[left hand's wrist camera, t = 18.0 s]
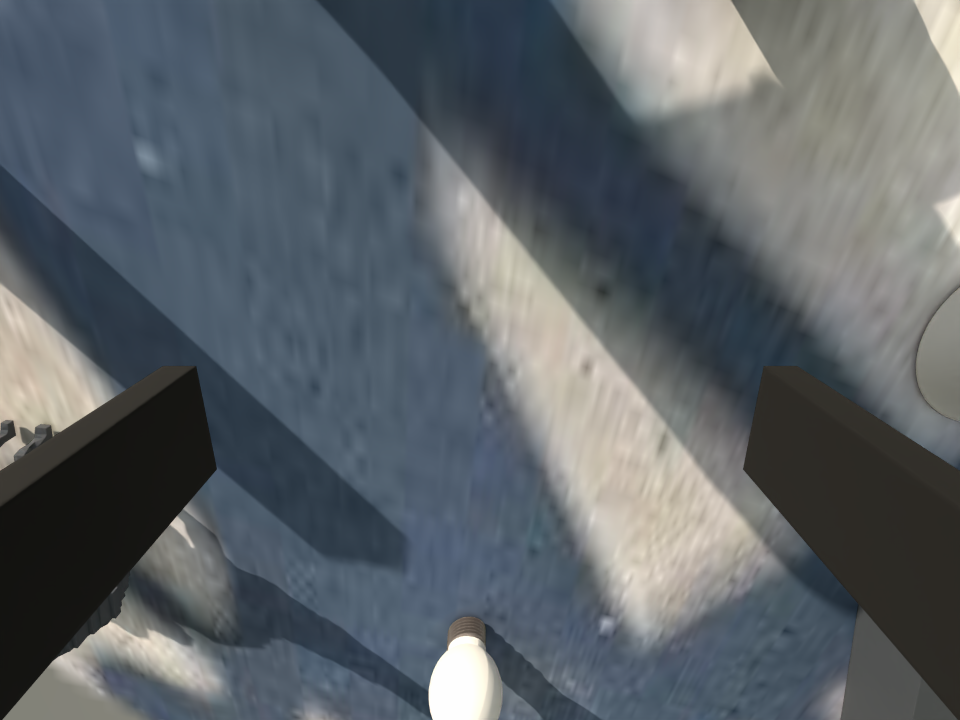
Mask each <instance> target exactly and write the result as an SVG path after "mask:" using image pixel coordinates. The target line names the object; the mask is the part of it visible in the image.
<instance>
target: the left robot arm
mask: <svg viewBox="0 0 960 720" xmlns="http://www.w3.org/2000/svg"><path fill="white" fill-rule="evenodd" d="M216 470H217V468H216V463H215V458H214V453H213V448H212V443H211V438H210V433H209V428H208V423H207V418H206V413H205V408H204V403H203V398H202V393H201V388H200V383H199V378H198V373H197V368H196V366H162V367H161V368H159V369H158V370H156V371H155V372H153V373H152V374H150V375H148V376H147V377H145V378H144V379H142V380H141V381H139V382H138V383H136V384H134V385H133V386H131V387H130V388H128V389H127V390H125V391H124V392H122V393H121V394H119V395H117V396H116V397H114V398H113V399H111V400H110V401H108V402H107V403H105V404H103V405H102V406H100V407H99V408H97V409H96V410H94V411H93V412H91V413H89V414H88V415H86V416H85V417H83V418H82V419H80V420H79V421H77V422H75V423H74V424H72V425H71V426H69V427H68V428H66V429H65V430H63V431H62V432H60V433H58V434H57V435H55V436H54V437H52V438H51V439H49V440H48V441H46V442H44V443H43V444H41V445H40V446H38V447H37V448H35V449H34V450H32V451H30V452H29V453H27V454H26V455H24V456H23V457H21V458H20V459H18V460H16V461H15V462H13V463H12V464H10V465H9V466H7V467H6V468H4V469H2V470H1V471H0V720H2V719H3V718H4V717H5V716H6V715H7V714H8V712H9V711H10V710H11V709H12V708H13V707H14V705H15V704H16V703H17V702H18V701H19V700H20V698H21V697H22V696H23V695H24V694H25V693H26V691H27V690H28V689H29V688H30V687H31V686H32V684H33V683H34V682H35V681H36V680H37V679H38V677H39V676H40V675H41V674H42V673H43V672H44V670H45V669H46V668H47V667H48V666H49V665H50V663H51V662H52V661H53V660H54V659H55V658H56V656H57V655H58V654H59V653H60V652H61V651H62V649H63V648H64V647H65V646H66V645H67V644H68V642H69V641H70V640H71V639H72V638H73V637H74V635H75V634H76V633H77V632H78V631H79V630H80V628H81V627H82V626H83V625H84V624H85V623H86V621H87V620H88V619H89V618H90V617H91V616H92V614H93V613H94V612H95V611H96V610H97V609H98V607H99V606H100V605H101V604H102V603H103V602H104V600H105V599H106V598H107V597H108V596H109V595H110V593H111V592H112V591H113V590H114V589H115V588H116V586H117V585H118V584H119V583H120V582H121V581H122V579H123V578H124V577H125V576H126V575H127V574H128V572H129V571H130V570H131V569H132V568H133V567H134V565H135V564H136V563H137V562H138V561H139V560H140V558H141V557H142V556H143V555H144V554H145V553H146V551H147V550H148V549H149V548H150V547H151V546H152V544H153V543H154V542H155V541H156V540H157V539H158V537H159V536H160V535H161V534H162V533H163V532H164V530H165V529H166V528H167V527H168V526H169V525H170V523H171V522H172V521H173V520H174V519H175V518H176V516H177V515H178V514H179V513H180V512H181V511H182V509H183V508H184V507H185V506H186V505H187V504H188V502H189V501H190V500H191V499H192V498H193V496H194V495H195V494H196V493H197V492H198V491H199V489H200V488H201V487H202V486H203V485H204V484H205V482H206V481H207V480H208V479H209V478H210V477H211V475H212V474H213V473H214V472H215V471H216ZM743 470H744V471H745V472H746V473H747V474H748V475H749V477H750V478H751V479H752V480H753V481H754V482H755V484H756V485H757V486H758V487H759V488H760V489H761V491H762V492H763V493H764V494H765V495H766V497H767V498H768V499H769V500H770V501H771V502H772V504H773V505H774V506H775V507H776V508H777V509H778V511H779V512H780V513H781V514H782V515H783V516H784V518H785V519H786V520H787V521H788V522H789V523H790V525H791V526H792V527H793V528H794V529H795V530H796V532H797V533H798V534H799V535H800V536H801V537H802V539H803V540H804V541H805V542H806V543H807V544H808V546H809V547H810V548H811V549H812V550H813V551H814V553H815V554H816V555H817V556H818V557H819V558H820V560H821V561H822V562H823V563H824V564H825V565H826V567H827V568H828V569H829V570H830V571H831V572H832V574H833V575H834V576H835V577H836V578H837V579H838V581H839V582H840V583H841V584H842V585H843V586H844V588H845V589H846V590H847V591H848V592H849V593H850V595H851V596H852V597H853V598H854V599H855V600H856V602H857V603H858V604H859V605H860V606H861V607H862V609H863V610H864V611H865V612H866V613H867V614H868V616H869V617H870V618H871V619H872V620H873V621H874V623H875V624H876V625H877V626H878V627H879V628H880V630H881V631H882V632H883V633H884V634H885V635H886V637H887V638H888V639H889V640H890V641H891V642H892V644H893V645H894V646H895V647H896V648H897V649H898V651H899V652H900V653H901V654H902V655H903V656H904V658H905V659H906V660H907V661H908V662H909V663H910V665H911V666H912V667H913V668H914V669H915V670H916V672H917V673H918V674H919V675H920V676H921V677H922V679H923V680H924V681H925V682H926V683H927V684H928V686H929V687H930V688H931V689H932V690H933V691H934V693H935V694H936V695H937V696H938V697H939V698H940V700H941V701H942V702H943V703H944V704H945V705H946V707H947V708H948V709H949V710H950V711H951V712H952V714H953V715H954V716H955V717H956V718H957V720H960V471H959V470H958V469H956V468H954V467H953V466H951V465H950V464H948V463H947V462H945V461H944V460H942V459H940V458H939V457H937V456H936V455H934V454H933V453H931V452H930V451H928V450H926V449H925V448H923V447H922V446H920V445H919V444H917V443H916V442H914V441H912V440H911V439H909V438H908V437H906V436H905V435H903V434H902V433H900V432H898V431H897V430H895V429H894V428H892V427H891V426H889V425H888V424H886V423H885V422H883V421H881V420H880V419H878V418H877V417H875V416H874V415H872V414H871V413H869V412H867V411H866V410H864V409H863V408H861V407H860V406H858V405H857V404H855V403H853V402H852V401H850V400H849V399H847V398H846V397H844V396H843V395H841V394H839V393H838V392H836V391H835V390H833V389H832V388H830V387H829V386H827V385H826V384H824V383H822V382H821V381H819V380H818V379H816V378H815V377H813V376H812V375H810V374H808V373H807V372H805V371H804V370H802V369H801V368H799V367H798V366H764V368H763V373H762V378H761V383H760V388H759V393H758V398H757V403H756V408H755V413H754V418H753V423H752V428H751V433H750V438H749V443H748V448H747V453H746V458H745V463H744V468H743Z"/></svg>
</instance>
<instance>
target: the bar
mask: <svg viewBox="0 0 960 720" xmlns="http://www.w3.org/2000/svg"><path fill="white" fill-rule="evenodd" d="M841 720H957V718H956V717H955V716H954V715H953V714H952V712H951V711H950V710H949V709H948V708H947V707H946V705H945V704H944V703H943V702H942V701H941V700H940V698H939V697H938V696H937V695H936V694H935V693H934V691H933V690H932V689H931V688H930V687H929V686H928V684H927V683H926V682H925V681H924V680H923V679H922V677H921V676H920V675H919V674H918V673H917V672H916V670H915V669H914V668H913V667H912V666H911V665H910V663H909V662H908V661H907V660H906V659H905V658H904V656H903V655H902V654H901V653H900V652H899V651H898V649H897V648H896V647H895V646H894V645H893V644H892V642H891V641H890V640H889V639H888V638H887V637H886V635H885V634H884V633H883V632H882V631H881V630H880V628H879V627H878V626H877V625H876V624H875V623H874V621H873V620H872V619H871V618H870V617H869V616H868V614H867V613H866V612H865V611H864V610H863V609H862V607H861V606H860V605H859V604H858V611H857V617H856V624H855V630H854V637H853V643H852V650H851V656H850V663H849V669H848V676H847V683H846V689H845V696H844V702H843V709H842V715H841Z"/></svg>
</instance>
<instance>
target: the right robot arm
mask: <svg viewBox="0 0 960 720" xmlns="http://www.w3.org/2000/svg"><path fill="white" fill-rule="evenodd" d="M916 377H917V382H918V386H919V389H920V391H921V393H922V395H923V397H924V398H925V400H926V401H927V402H928V404H929V405H930V406H931V407H932V408H933V409H935V410H936V411H937V412H939V413H940V414H942V415H944V416H946V417H948V418H950V419H953V420H956V421H960V287H959V288H958V289H957V290H956V291H955V292H954V293H953V294H952V295H951V296H950V297H949V298H948V299H947V300H946V301H945V302H944V303H943V304H942V305H941V307H940V308H939V309H938V310H937V312H936V313H935V315H934V316H933V317H932V319H931V321H930V322H929V324H928V326H927V328H926V330H925V332H924V334H923V336H922V339H921V341H920V345H919V348H918V352H917V358H916Z"/></svg>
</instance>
